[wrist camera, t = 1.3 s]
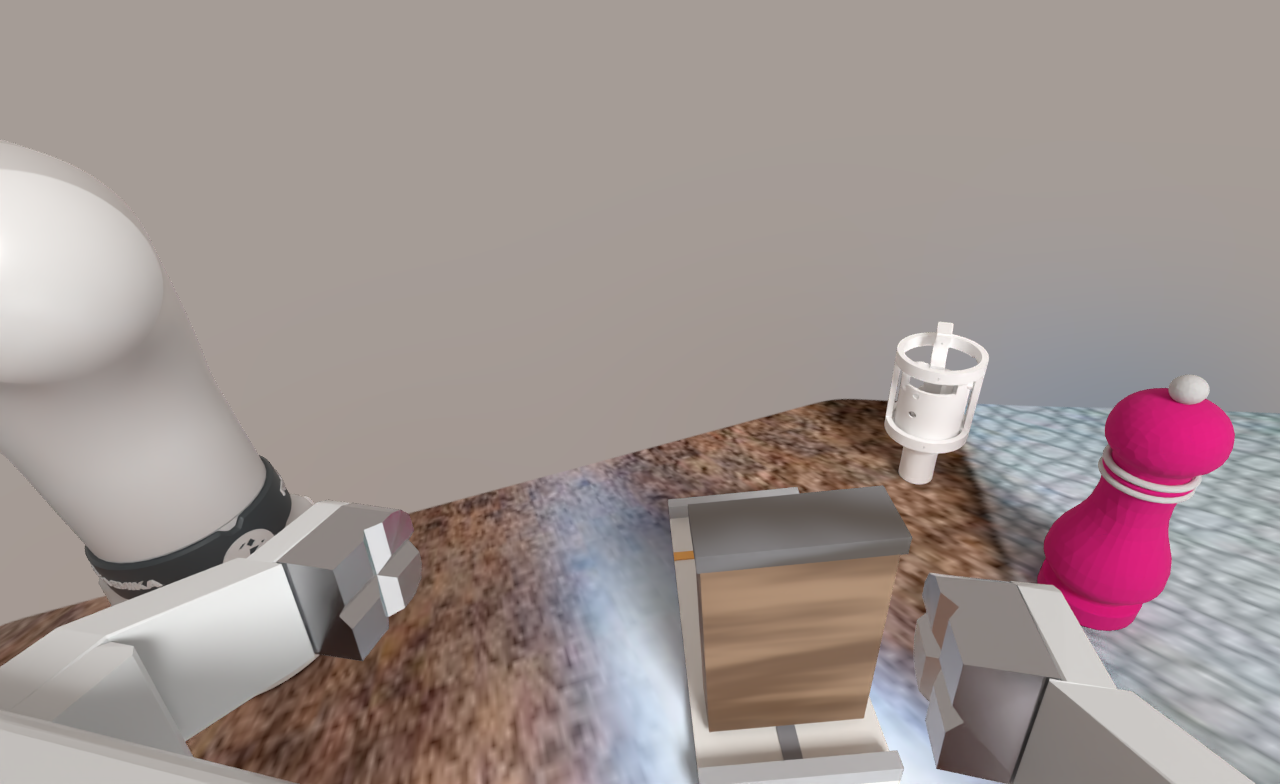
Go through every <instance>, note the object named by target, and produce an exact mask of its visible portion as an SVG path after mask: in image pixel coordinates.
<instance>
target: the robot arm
mask: <svg viewBox="0 0 1280 784" xmlns="http://www.w3.org/2000/svg"><path fill="white" fill-rule="evenodd" d="M0 453H1V454H2V455H3V456H4V457H5V458H7V459H8V460H9V461H10V462H11V463H12V464H13V466H14V467H15V468H16V469H17V470H18V471H19V472H20V473H21V474H22V475H23V476H24V477H25V478H26V479H27V481H28V482H29V483H30V484H31V485H32V486H33V487H34V488H35V489H36V491H37V492H38V493H39V494H40V495H41V496H42V497H43V498H44V499H45V500H46V502H47V503H48V504H49V505H50V506H51V507H52V508H53V509H54V511H55V512H57V514H58V515H59V516H60V517H61V518H62V520H63V521H64V522H65V523H66V524H67V525H68V526H69V527H70V528H71V529H72V531H73V532H74V533H75V534H76V535H77V536H78V537H79V538H80V539H81V541H82V542H83V543H84V544H85V553H86V556H87V558H88V560H89V561H90V563H91V567H92V568H93V570H94V571H95V573H96V574H97V575H98V577H99V585H100V586H101V588H102V590H103V592H104V593H105V595H106V597H107V599H108V600H109V602H110V604H111V605H112V606H111V607H109V608H107V609H104V610H102V611H99V612H96V613H94V614H91V615H89V616H86V617H84V618H81V619H78V620H76V621H73V622H71V623H68V624H66V625H63V626H60V627H58V628H56V629H55V630H53V631H52V632H50V633H49V634H47V635H46V636H44V637H43V638H41V639H40V640H39V641H37V642H36V643H34V644H33V645H31V646H30V647H28V648H27V649H25V650H24V651H23V652H21V653H20V654H18V655H17V656H15V657H14V658H12V659H11V660H10V661H8V662H7V663H5V664H4V665H2V666H1V667H0V784H298V783H294V782H290V781H286V780H282V779H278V778H274V777H270V776H266V775H262V774H258V773H254V772H250V771H246V770H242V769H238V768H234V767H230V766H226V765H222V764H218V763H214V762H210V761H206V760H202V759H198V758H194V757H193V755H192V753H191V752H190V750H189V748H188V746H187V744H186V742H185V741H187V740H188V739H190V738H191V737H193V736H195V735H196V734H198V733H199V732H201V731H202V730H204V729H205V728H207V727H208V726H210V725H211V724H213V723H214V722H216V721H218V720H219V719H221V718H222V717H224V716H225V715H227V714H228V713H230V712H231V711H233V710H234V709H236V708H238V707H239V706H241V705H242V704H244V703H245V702H247V701H248V700H250V699H251V698H253V697H254V696H256V695H259V694H261V693H263V692H266V691H268V690H270V689H272V688H274V687H276V686H278V685H279V684H281V683H283V682H285V681H286V680H288V679H289V678H291V677H292V676H294V675H295V674H297V673H298V672H300V671H301V670H302V669H304V668H305V667H306V666H307V665H309V664H310V663H311V662H312V661H313V660H315V659H316V658H317V657H318V656H319V655H326V656H333V657H339V658H346V659H352V660H359V661H363V660H364V659H365V657H366V656H367V655H368V654H369V652H370V651H371V650H372V649H373V647H374V646H375V645H376V644H377V642H378V641H379V640H380V639H381V637H382V636H383V635H384V634H385V632H386V631H387V630H388V629H389V616H391V615H393V614H395V613H397V612H398V611H400V610H402V609H404V608H405V607H406V606H407V605H408V603H409V602H410V601H411V599H412V598H413V597H414V595H415V594H416V591H417V588H418V585H419V583H420V580H421V574H422V562H421V557H420V553H419V551H418V550H417V549H416V548H415V547H414V546H413V544H412V543H411V542H410V541H409V539H410V537H411V535H412V533H413V532H414V529H413V525H412V522H411V519H410V515H409V514H408V513H406V512H404V511H402V510H397V509H391V508H384V507H377V506H371V505H364V504H357V503H347V502H339V501H333V500H325V501H320V502H317V503H316V504H314V502H313V501H312V500H311V499H310V498H309V497H307V496H304V497H302V496H299V495H296V494H289V493H288V491H287V489H286V487H285V483H284V482H283V479H282V478H281V476H280V475H279V473H278V472H277V471H276V470H275V469H274V468H273V467H272V465H271V464H270V462H269V461H268V460H267V459H265V458H264V457H262V456H260V455H258V453H257V451H256V450H255V448H254V446H253V445H252V443H251V441H250V440H249V438H248V436H247V434H246V433H245V431H244V429H243V428H242V426H241V424H240V422H239V421H238V419H237V417H236V416H235V414H234V412H233V410H232V409H231V407H230V405H229V404H228V402H227V400H226V399H225V397H224V395H223V393H222V392H221V390H220V388H219V387H218V385H217V383H216V381H215V379H214V377H213V375H212V373H211V371H210V369H209V366H208V364H207V361H206V359H205V356H204V354H203V351H202V349H201V346H200V343H199V341H198V339H197V337H196V334H195V332H194V329H193V327H192V325H191V323H190V321H189V318H188V316H187V314H186V311H185V309H184V307H183V305H182V303H181V301H180V299H179V297H178V294H177V292H176V290H175V288H174V286H173V284H172V282H171V280H170V278H169V276H168V274H167V272H166V270H165V268H164V266H163V264H162V262H161V260H160V258H159V256H158V254H157V252H156V250H155V248H154V246H153V244H152V242H151V240H150V238H149V235H148V234H147V232H146V231H145V229H144V227H143V225H142V224H141V222H140V220H139V219H138V218H137V216H136V215H135V213H134V212H133V211H132V209H131V208H130V207H129V206H128V205H127V204H126V203H125V202H124V201H123V200H122V199H121V198H120V197H119V196H118V195H117V194H116V193H115V192H113V191H112V190H111V189H110V188H109V187H108V186H106V185H105V184H103V183H102V182H100V181H99V180H98V179H96V178H95V177H93V176H92V175H90V174H88V173H86V172H85V171H83V170H81V169H79V168H78V167H76V166H74V165H72V164H69V163H67V162H65V161H63V160H60V159H58V158H56V157H53V156H50V155H47V154H44V153H42V152H38V151H36V150H33V149H30V148H27V147H24V146H21V145H18V144H16V143H12V142H7V141H4V140H1V139H0ZM922 596H923V600H924V604H925V608H926V611H927V613H926V614H924V615H923V616H922V617H920V618H919V619H917V624H916V630H915V636H914V666H915V674H916V679H917V684H918V689H919V691H920V692H921V693H922V694H923V696H924V697H925V698H926V699H927V700H928V701H929V706H928V711H927V715H926V720H925V721H926V725H927V730H928V734H929V739H930V743H931V747H932V752H933V756H934V760H935V765H936V769H940V770H944V771H949V772H954V773H958V774H963V775H968V776H972V777H977V778H982V779H986V780H991V781H996V782H1000V783H1005V784H1255V783H1254V782H1253V781H1251V780H1250V779H1249V778H1247V777H1246V776H1245V775H1243V774H1242V773H1241V772H1239V771H1238V770H1237V769H1235V768H1234V767H1233V766H1231V765H1230V764H1229V763H1227V762H1226V761H1225V760H1223V759H1222V758H1221V757H1219V756H1218V755H1217V754H1215V753H1214V752H1212V751H1211V750H1210V749H1208V748H1207V747H1206V746H1204V745H1203V744H1202V743H1200V742H1199V741H1198V740H1196V739H1195V738H1194V737H1192V736H1191V735H1190V734H1188V733H1187V732H1186V731H1184V730H1183V729H1182V728H1180V727H1179V726H1178V725H1176V724H1175V723H1174V722H1172V721H1171V720H1170V719H1168V718H1167V717H1166V716H1164V715H1163V714H1161V713H1160V712H1159V711H1157V710H1156V709H1155V708H1153V707H1152V706H1151V705H1149V704H1148V703H1147V702H1145V701H1144V700H1143V699H1141V698H1140V697H1139V696H1137V695H1136V694H1135V693H1133V692H1132V691H1126V690H1120V689H1117V687H1116V686H1115V684H1114V682H1113V681H1112V679H1111V677H1110V675H1109V674H1108V672H1107V670H1106V668H1105V667H1104V665H1103V663H1102V662H1101V660H1100V658H1099V656H1098V655H1097V653H1096V651H1095V649H1094V648H1093V646H1092V644H1091V643H1090V641H1089V639H1088V637H1087V636H1086V634H1085V632H1084V630H1083V629H1082V627H1081V625H1080V624H1079V622H1078V620H1077V618H1076V617H1075V615H1074V613H1073V611H1072V610H1071V608H1070V606H1069V605H1068V603H1067V601H1066V599H1065V598H1064V596H1063V594H1062V593H1061V591H1060V590H1059V589H1057V588H1056V587H1055V586H1053V585H1046V584H1035V583H1025V582H1015V581H1010V582H1005V581H996V580H988V579H979V578H970V577H961V576H952V575H944V574H935V573H929V575H928V577H927V579H926V581H925V585H924V590H923V594H922Z"/></svg>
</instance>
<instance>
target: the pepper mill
mask: <svg viewBox="0 0 1280 784" xmlns="http://www.w3.org/2000/svg"><path fill="white" fill-rule="evenodd" d="M1208 394H1209V385H1208V384H1207V382H1206V381H1205V380H1204V379H1202V378H1201V377H1198V376H1195V375H1183V376H1180V377H1177V378H1175V379H1174V380H1173V381H1172V382H1171V383H1170V385H1169V388H1154V389H1147V390H1143V391H1139V392H1136V393H1133V394H1131V395H1129V396H1127V397H1126V398H1124V399H1123V400H1121V401H1120V402H1119V403H1118V404H1117V405H1116V406H1115V407H1114V408H1113V410H1112V411H1111V412H1110V414H1109V416H1108V418H1107V421H1106V424H1105V437H1106V439H1107V441H1108V445H1107V446H1106V447H1105V449H1104V450H1103V456H1102V457H1101V458H1100V460H1099V462H1098V468H1099V471H1100V473H1101V478H1100V481H1099V483H1098V485H1097V486H1096V488H1095V489H1094V491H1093V493H1092V494H1091V495H1090V496H1089V497H1088V498H1087V499H1086V500H1084V501H1083V502H1082V503H1080V504H1079V505H1077V506H1075V507H1074V508H1072V509H1070V510H1069V511H1067V512H1065V513H1064V514H1063V515H1062V516H1061V517H1060V518H1058V519H1057V520H1056V521H1055V522H1054V523H1053V525H1052V527H1051V528H1050V530H1049V532H1048V533H1047V535H1046V537H1045V540H1044V553H1045V556H1046V559H1045V560H1044V562H1043V565H1042V567H1041V569H1040V572H1039V574H1038V577H1037V584H1046V585H1053V586H1055V587H1056V588H1057V589H1059V590H1060V591H1061V593H1062V594H1063V596H1064V598H1065V599H1066V601H1067V603H1068V605H1069V606H1070V608H1071V610H1072V611H1073V613H1074V615H1075V617H1076V618H1077V620H1078V622H1079V624H1080V625H1082V626H1084V627H1088V628H1092V629H1096V630H1105V631H1111V630H1119V629H1122V628H1125V627H1127V626H1128V625H1129V624H1131V623H1132V622H1133V620H1134V619H1135V617H1136V615H1137V614H1138V612H1139V610H1140V609H1141V607H1142V604H1143V603H1146V602H1148V601H1151V600H1152V599H1154V598H1156V597H1157V596H1158V595H1159V594H1160V593H1161V592H1162V591H1163V589H1164V587H1165V584H1166V582H1167V580H1168V578H1169V575H1170V571H1171V560H1172V558H1171V551H1170V544H1169V538H1168V527H1169V520H1170V517H1171V515H1172V512H1173V509H1174V507H1175V506H1176V504H1177V503H1180V502H1184V501H1186V500H1188V499H1190V498H1191V497H1192V496H1193V495H1194V493H1195V489H1196V488H1197V486H1198V485H1199V484H1200V483H1201V480H1202V475H1204V474H1208V473H1210V472H1212V471H1214V470H1215V469H1217V468H1219V467H1220V466H1221V465H1223V464H1224V462H1225V461H1226V460H1227V459H1228V457H1229V455H1230V453H1231V451H1232V449H1233V445H1234V437H1235V433H1234V429H1233V425H1232V423H1231V421H1230V419H1229V417H1228V416H1227V415H1226V414H1225V412H1224V411H1223V410H1222V409H1220V408H1219V407H1218V406H1217V405H1215V404H1214V403H1212V402H1211V401H1209V400H1207V399H1205V398H1206V397H1207V396H1208Z"/></svg>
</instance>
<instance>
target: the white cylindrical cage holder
mask: <svg viewBox="0 0 1280 784" xmlns="http://www.w3.org/2000/svg"><path fill="white" fill-rule="evenodd" d="M952 331H953V323H946V322H938V327H937V332H928V333H927V332H926V333H918V334H914V335H911V336H908V337H906V338H904V339H903V340H901V341H900V342H899V344H898V346H897V352H896V358H895V364H894V370H893V376H892V382H891V388H890V395H889V399H888V405H887V411H886V417H885V423H884V426H885V430H886V432H887V433H888V435H889V436H890V437H891V438H892V439H893V440H895V441H896V442H897V443H899V444H901V445H903V451H902V456H901V461H900V465H899V471H898V472H899V475H900V476H901V477H902V478H903V479H904V480H906V481H908V482H910V483H913V484H926V483H928V482H930V481H931V480H932V477H933V472H934V468H935V463H936V459H937V455H938V453H947V452H951V451H955V450H957V449H959V448H961V447H962V446H963V445H964V444H965V443H966V441H967V438H968V434H969V430H970V427H971V423H972V419H973V416H974V412H975V408H976V405H977V401H978V397H979V393H980V390H981V386H982V382H983V379H984V374H985V371H986V368H987V364H988V360H989V356H988V353H987V352H986V350H985V349H984V348H983V347H982V346H980V345H979V344H977V343H976V342H974V341H972V340H970V339H967V338H964V337H961V336H958V335H953V334H952ZM928 345H934V346H933V351H932V356H931V364H930V366H929V364H927V363H924V362H913V361H912V360H910V359H909V358H908V357H907V356H906V355H905V352H906V351H908V350H909V349H912V348H915V347H919V346H928ZM949 347H950V348H954V349H957V350H960V351H962V352H965V353H967V354H968V355H970V356H972V357H974V358H976V361H977V362H978V365H976V366H975V367H973V368H970V369H966V370H960V371H951V370H948V369H945V362H946V357H947V353H948V348H949ZM900 369H901V370H902V371H903V372H902V378H901V383H900V389H899V394H898V400H897V402H895V396H896V390H897V385H898V379H899V374H900ZM911 377H913V378H916V379H918V380H921V381H924V385H923V386H922V385H921V386H920V387H919V388H915V387H913V386H912V385H910V384H909V383H910V378H911ZM973 382H974V384H973ZM972 387H973V388H972ZM970 389H972V392H971V396H970V399H969V403H968V407H967V411H966V415H964V411H965V407H966V403H967V399H968V396H969V392H970ZM894 402H895V403H894Z"/></svg>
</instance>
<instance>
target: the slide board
mask: <svg viewBox="0 0 1280 784" xmlns="http://www.w3.org/2000/svg"><path fill="white" fill-rule="evenodd" d="M791 494H799V491H798V488H797V487H793V488H783V489H773V490H762V491H752V492H742V493H731V494H721V495H711V496H700V497H690V498H680V499H669V500H668V508H669V518H670V527H671V536H672V545H673V554H674V563H675V572H676V581H677V590H678V599H679V608H680V617H681V626H682V635H683V644H684V653H685V662H686V671H687V680H688V689H689V698H690V707H691V716H692V725H693V734H694V743H695V752H696V761H697V770H698V779H699V784H899V783H900V780H901V777H902V774H903V771H904V767H903V764H902V761H901V759H900V756H899V753H898V751H889V748H888V746H887V743H886V740H885V738H884V735H883V732H882V729H881V727H880V724H879V721H878V719H877V716H876V713H875V711H874V708H873V705H872V702H871V700H870V697H869V698H868V702H867V707H866V711H865V716H864V718H863V719H852V720H840V721H829V722H818V723H807V724H796V725H784V726H773V727H762V728H751V729H740V730H728V731H717V732H709V727H708V720H707V712H706V705H705V697H704V690H703V677H702V660H701V644H700V628H699V612H698V596H697V580H696V566H695V560H694V553H693V546H692V539H691V533H690V526H689V517H688V504H697V503H708V502H718V501H728V500H739V499H749V498H760V497H770V496H780V495H791Z"/></svg>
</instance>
